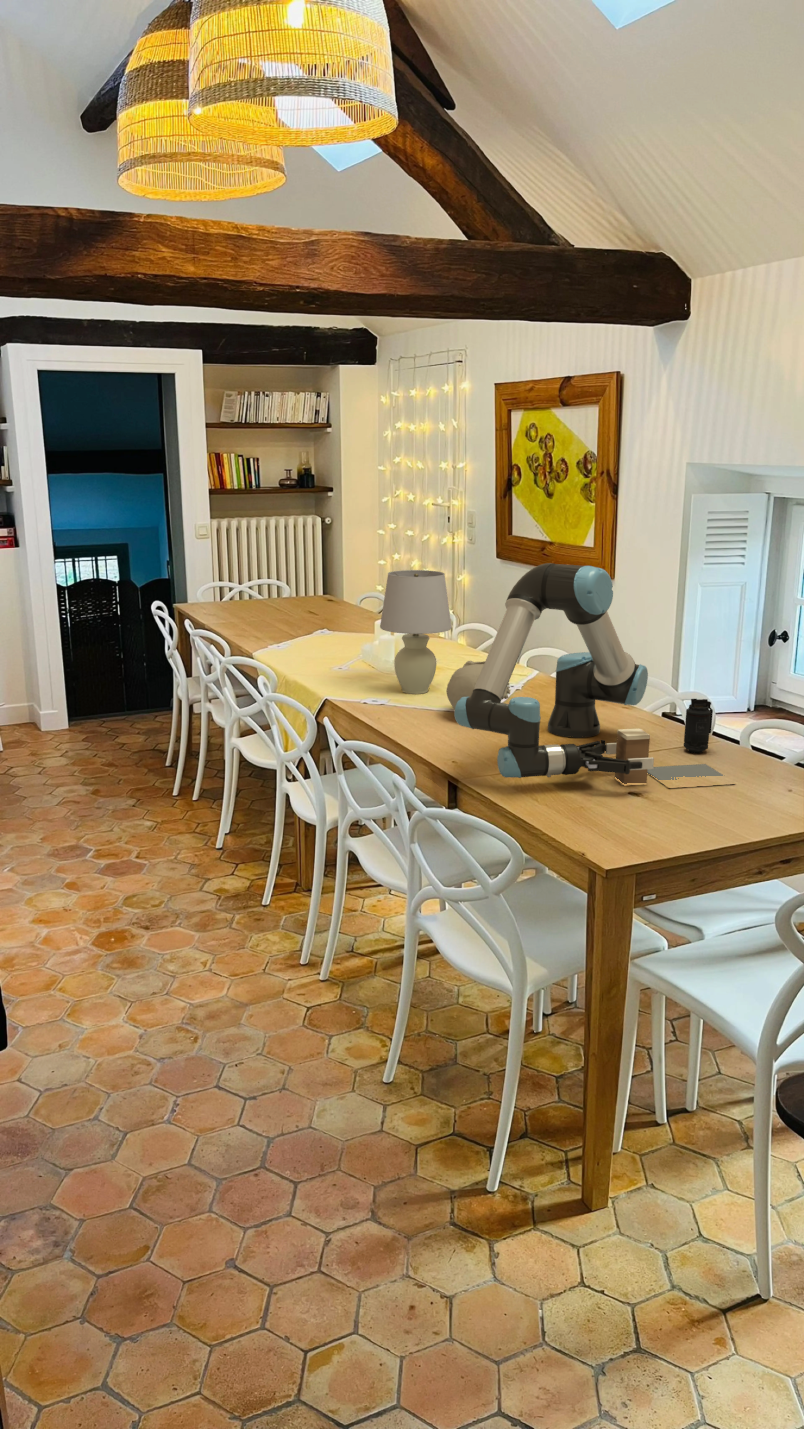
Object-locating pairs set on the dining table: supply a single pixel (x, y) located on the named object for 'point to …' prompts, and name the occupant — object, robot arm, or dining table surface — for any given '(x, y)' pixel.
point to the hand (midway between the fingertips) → (641, 755)
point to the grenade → (698, 725)
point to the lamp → (415, 623)
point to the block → (632, 753)
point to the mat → (682, 771)
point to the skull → (466, 682)
